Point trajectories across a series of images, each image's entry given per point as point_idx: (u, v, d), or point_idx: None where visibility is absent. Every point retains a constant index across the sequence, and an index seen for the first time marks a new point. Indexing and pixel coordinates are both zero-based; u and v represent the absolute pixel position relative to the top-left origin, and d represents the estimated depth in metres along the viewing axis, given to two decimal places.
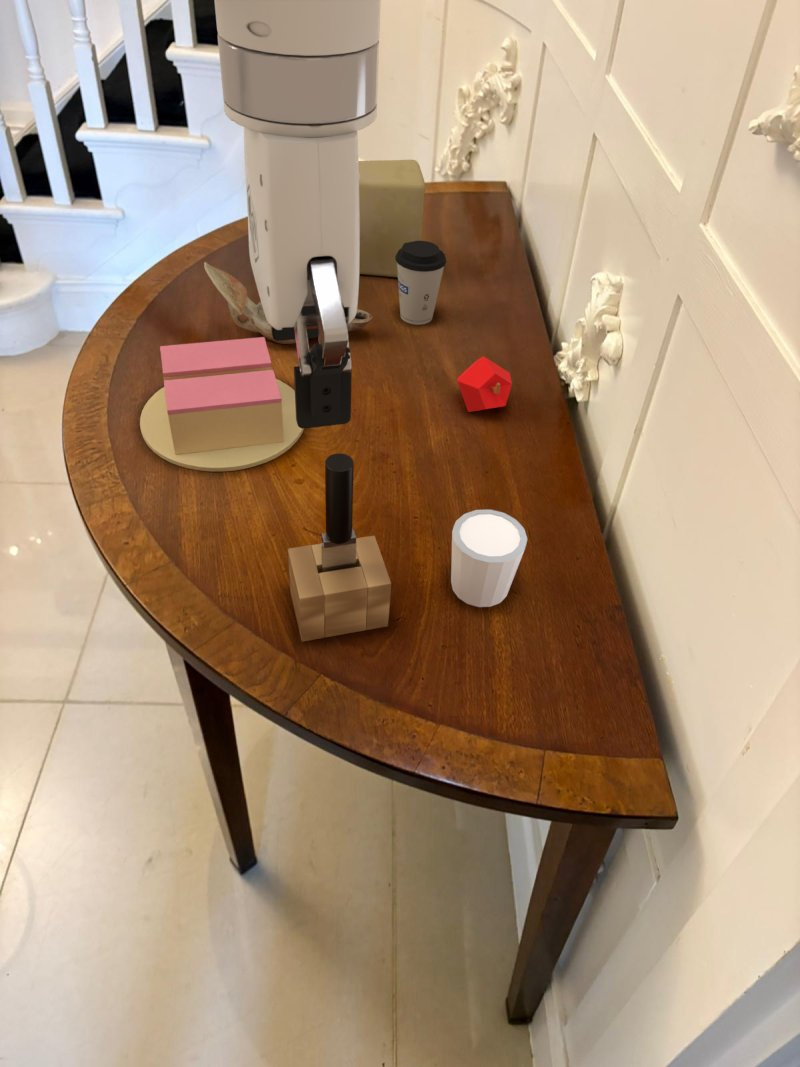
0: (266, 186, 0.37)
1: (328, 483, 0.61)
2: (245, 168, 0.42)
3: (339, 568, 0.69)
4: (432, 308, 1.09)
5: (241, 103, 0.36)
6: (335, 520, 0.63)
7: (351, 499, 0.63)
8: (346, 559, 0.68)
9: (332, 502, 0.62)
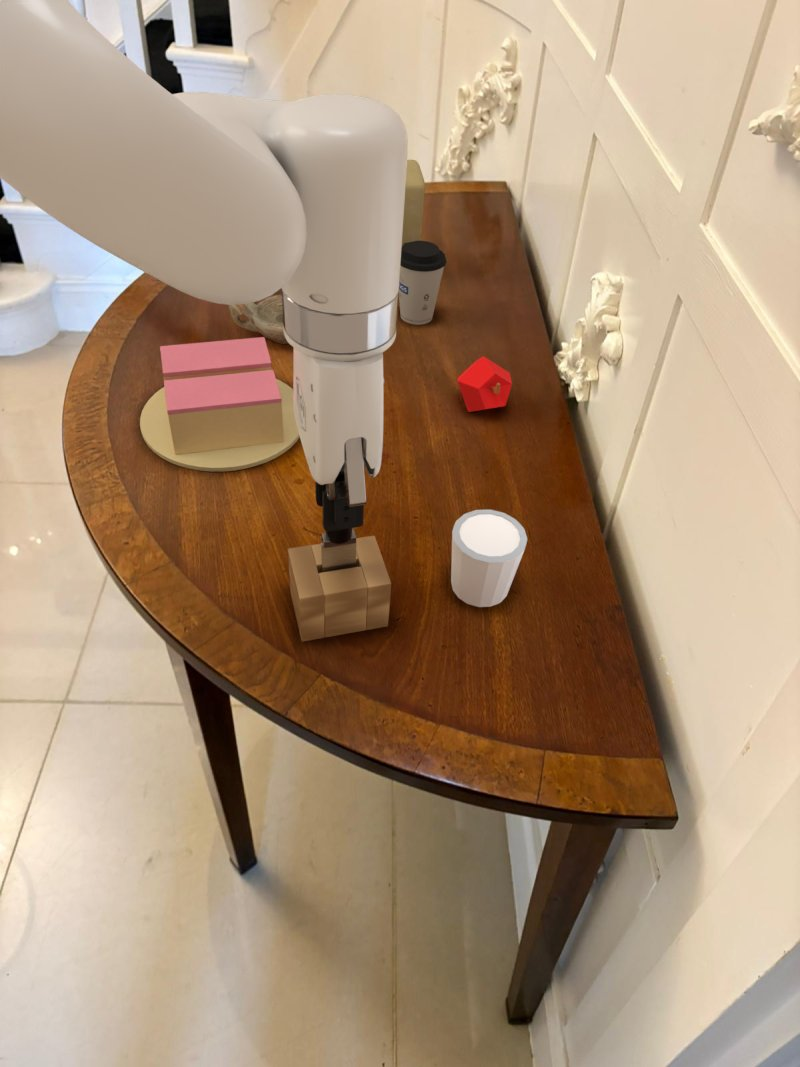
0: (316, 394, 0.51)
1: None
2: (295, 362, 0.56)
3: (339, 568, 0.69)
4: (432, 308, 1.09)
5: (298, 337, 0.50)
6: None
7: None
8: (346, 559, 0.68)
9: None
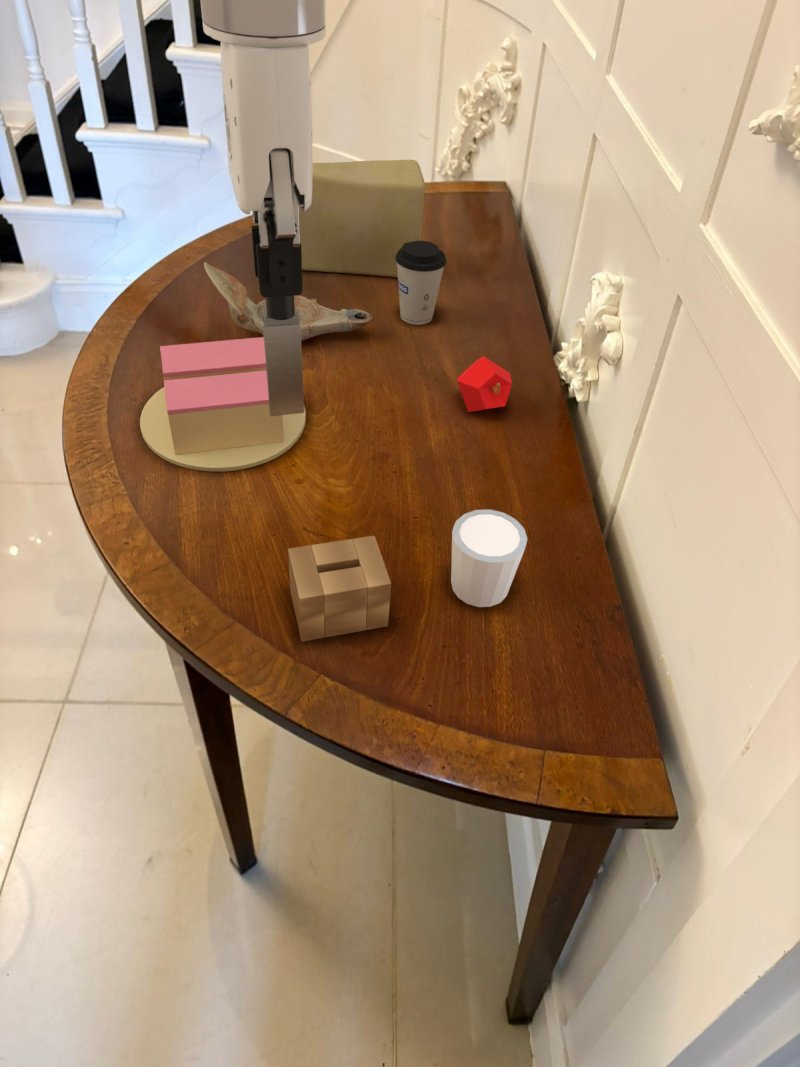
0: (235, 87, 0.47)
1: None
2: None
3: (284, 357, 0.65)
4: (432, 308, 1.09)
5: (215, 20, 0.46)
6: None
7: None
8: (291, 346, 0.65)
9: None
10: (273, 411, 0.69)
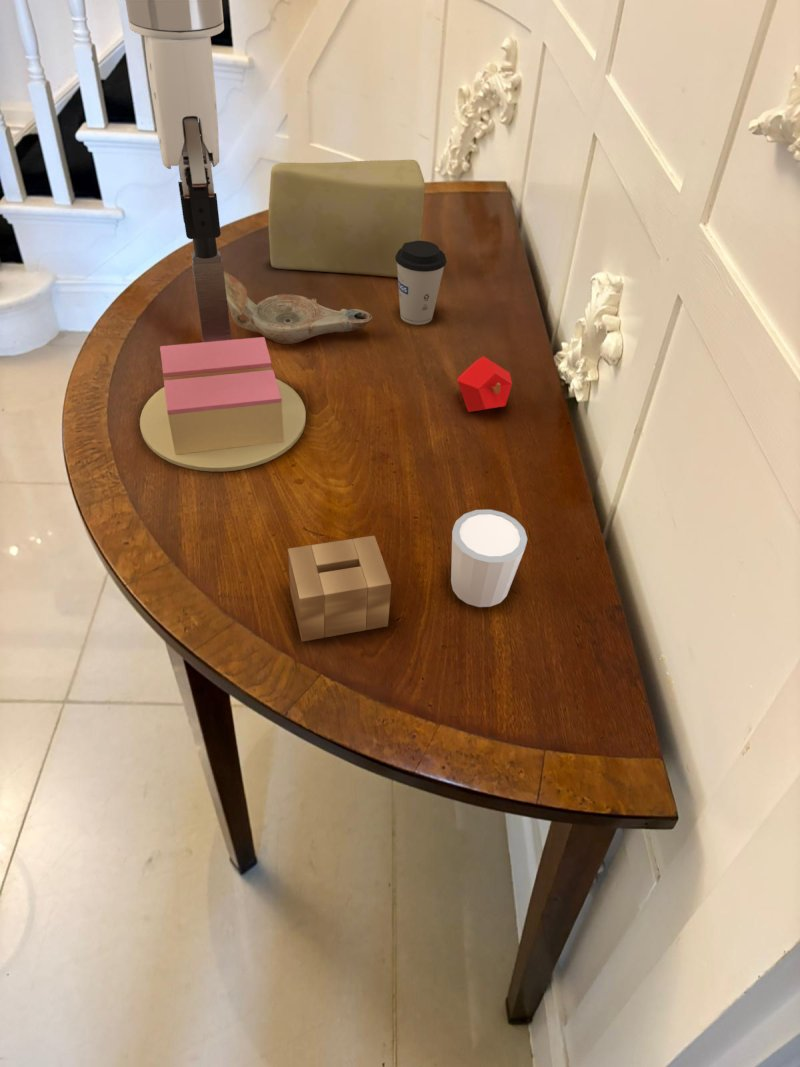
0: (153, 69, 0.62)
1: None
2: None
3: (211, 291, 0.81)
4: (432, 308, 1.09)
5: (136, 19, 0.61)
6: None
7: None
8: (216, 281, 0.80)
9: None
10: (205, 338, 0.84)
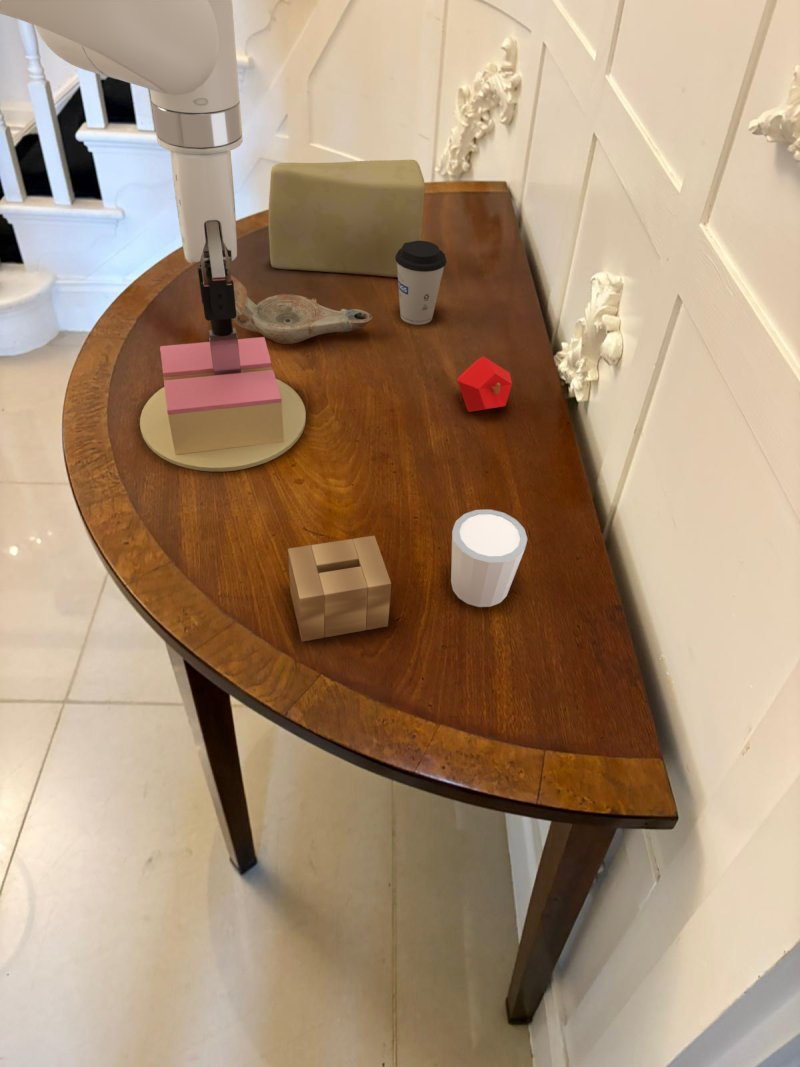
0: (178, 181, 0.69)
1: None
2: None
3: (226, 364, 0.87)
4: (432, 308, 1.09)
5: (164, 136, 0.68)
6: None
7: None
8: (231, 355, 0.86)
9: None
10: None
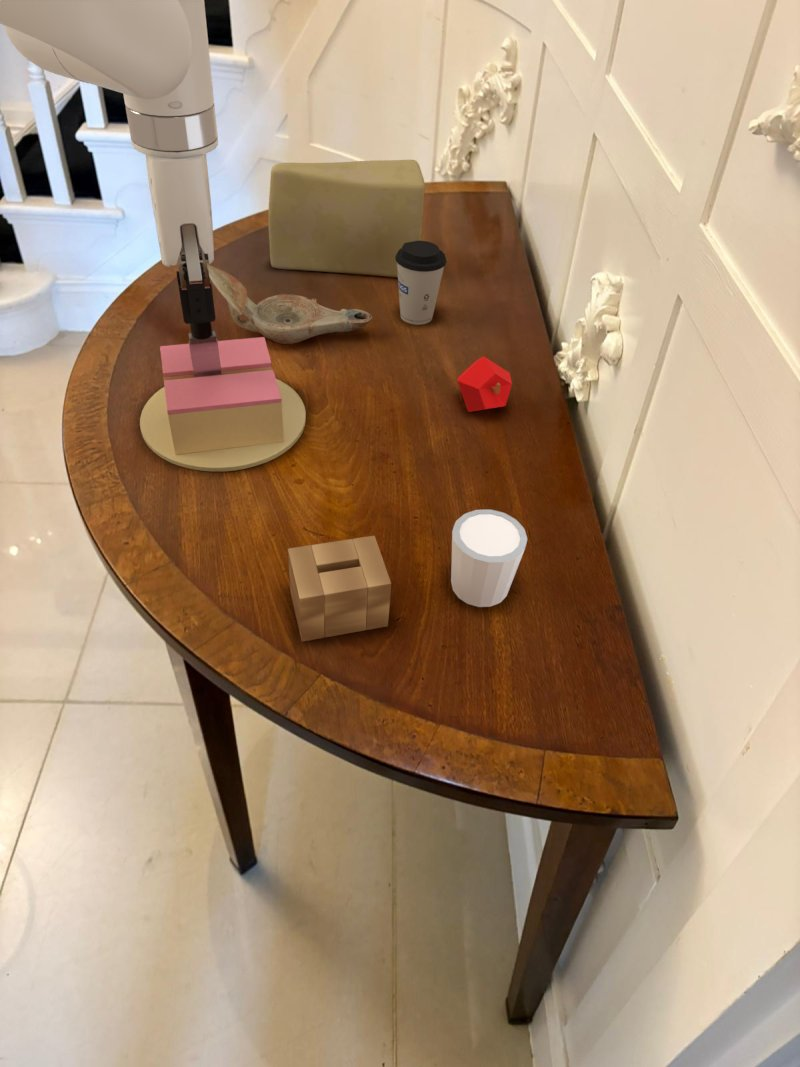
0: (153, 184, 0.68)
1: None
2: None
3: (207, 367, 0.87)
4: (432, 308, 1.09)
5: (138, 140, 0.67)
6: None
7: None
8: (211, 358, 0.86)
9: None
10: None
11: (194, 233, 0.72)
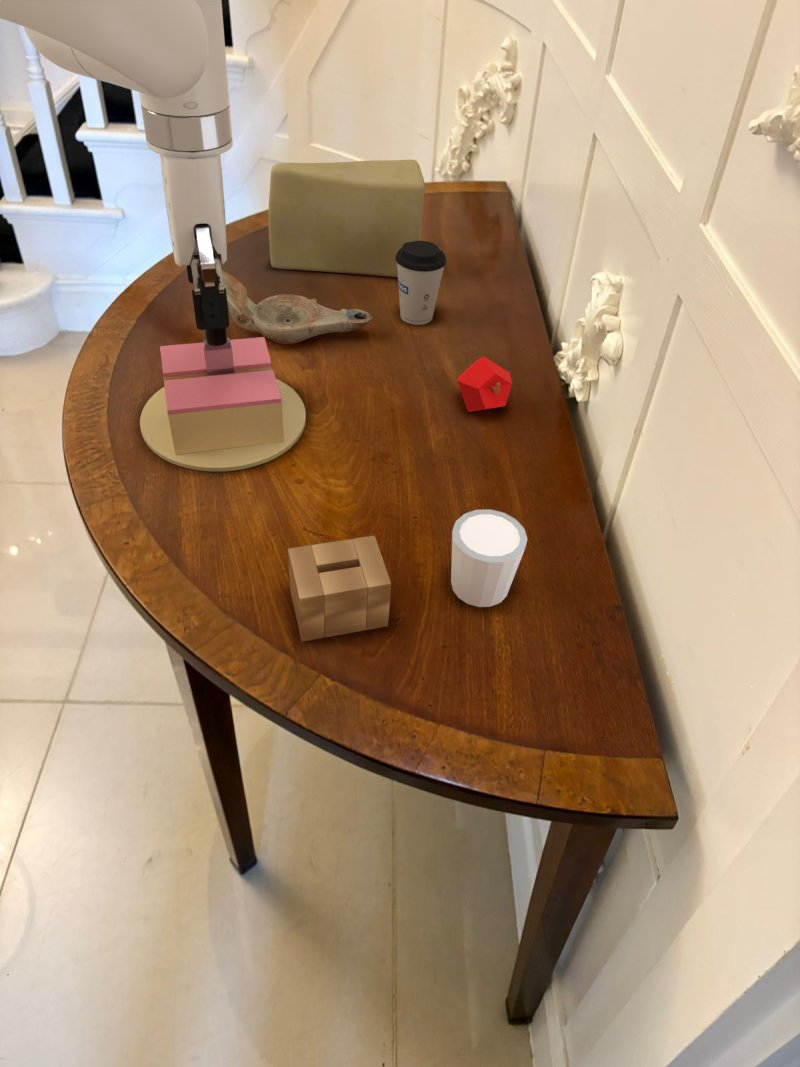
0: (168, 184, 0.69)
1: None
2: None
3: (221, 373, 0.88)
4: (432, 308, 1.09)
5: (153, 140, 0.68)
6: None
7: None
8: (225, 364, 0.87)
9: None
10: None
11: None
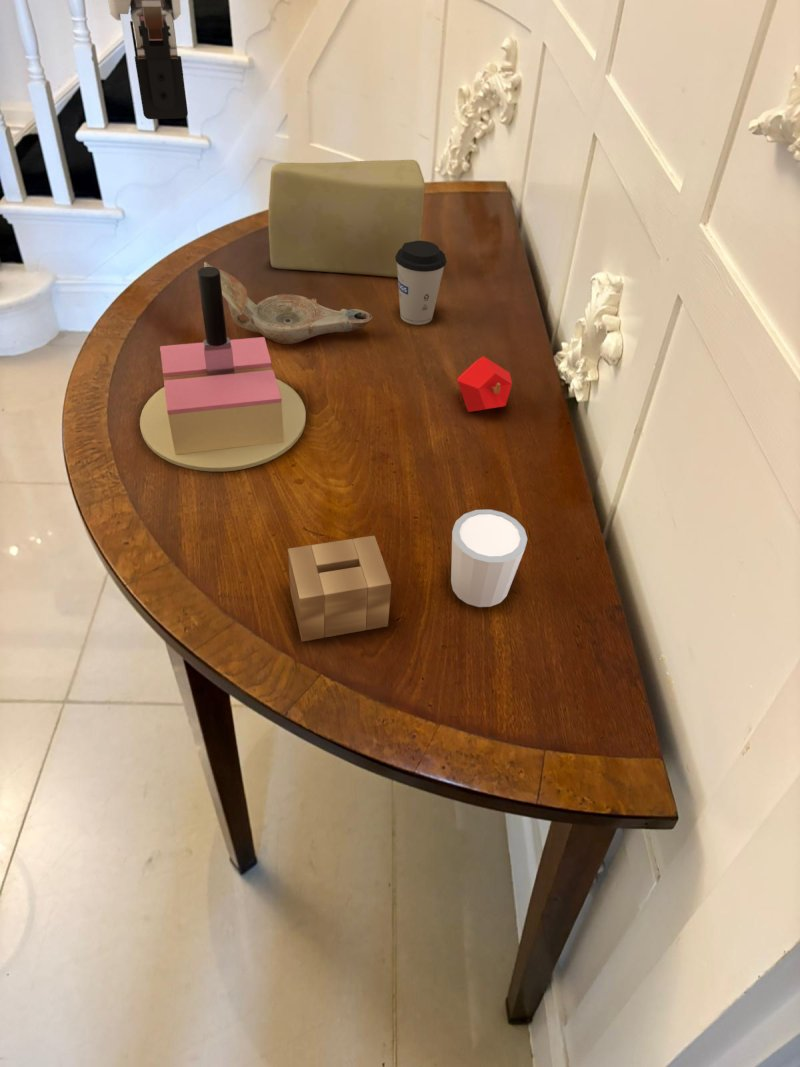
0: None
1: (200, 288, 0.80)
2: None
3: (221, 373, 0.88)
4: (432, 308, 1.09)
5: None
6: (210, 323, 0.82)
7: (221, 305, 0.82)
8: (225, 364, 0.87)
9: (205, 305, 0.81)
10: None
11: None
